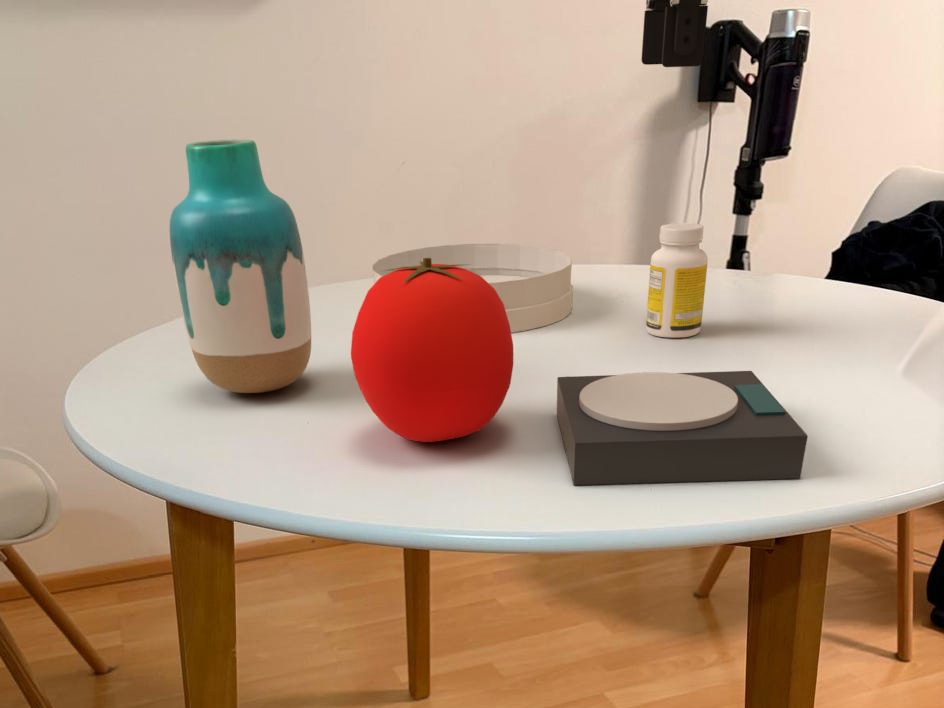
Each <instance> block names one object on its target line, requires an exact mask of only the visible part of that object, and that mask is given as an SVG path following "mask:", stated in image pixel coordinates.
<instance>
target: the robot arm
mask: <svg viewBox="0 0 944 708" xmlns="http://www.w3.org/2000/svg"><path fill="white" fill-rule="evenodd" d="M708 2H709V0H646V1H645V10H644V14H643V15H644V16H643V31H642V46H641V59H640V60H641V63H642V64H643V65H644V66H645V65H646V66H650V65H651V66H652V65H653V66H654V65H662V66H663V67H664V68H686V67H687V68H688V67H690V68H691V67H699V66H701V65H702V63H703V61H704V51H705V40H706V30H707V22H708V21H707V20H708V12H709V11H708V10H709V5H708Z"/></svg>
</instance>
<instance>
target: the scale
mask: <svg viewBox="0 0 944 708" xmlns="http://www.w3.org/2000/svg"><path fill="white" fill-rule="evenodd" d="M556 417H557V421H558V425H559V430H560V433H561V437H562V438H561V439H562V443H563V446H564V450H565V454H566V459H567V462H568V467H569V473H570V475H571V480H572V484H573V485H574V486H595V485H596V486H597V485H629V484H631V485H632V484H661V483H663V484H664V483H691V482H692V483H693V482H695V483H696V482H727V481H729V482H731V481H758V480H759V481H762V480H795V479H796V480H797V479H801V477H802V469H803V464H804V460H805V459H804V458H805V453H806V448H807V442H808V438H809V437H808V434H807V433H806V432H805V431H804V429H802V427H801V426H800V425H799V424H798V423H797V421H795V419H794V418H793V417H792V415H791V414H789V412H788V411H787V410H786V409H785V408H784V407H783V405H782V404H781V403H780V402H779V401H778V400H777V399H776V397H775V396H774V395H773V394H772V392H771V391H769V389H768V388H767V387H766V386H765V385H764V383H763V382H762V381H761V380H760V379H759V377H757V375H756V374H755V373H754V372H753V371H752V370H731V371H699V372H658V371H657V372H656V371H651V372H650V371H649V372H647V371H645V372H630V373H622V374H621V373H620V374H610V375H609V374H607V375H579V376H577V375H576V376H558V377H557V380H556Z"/></svg>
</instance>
